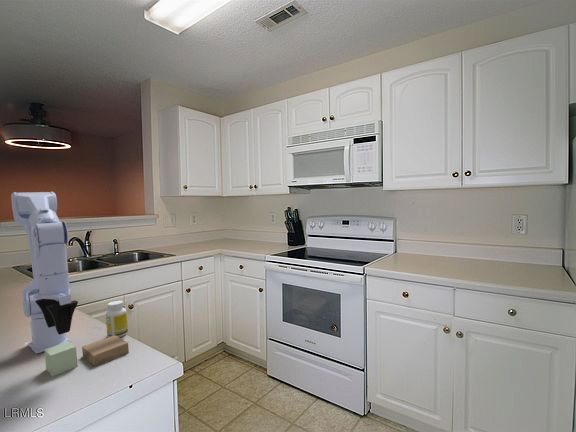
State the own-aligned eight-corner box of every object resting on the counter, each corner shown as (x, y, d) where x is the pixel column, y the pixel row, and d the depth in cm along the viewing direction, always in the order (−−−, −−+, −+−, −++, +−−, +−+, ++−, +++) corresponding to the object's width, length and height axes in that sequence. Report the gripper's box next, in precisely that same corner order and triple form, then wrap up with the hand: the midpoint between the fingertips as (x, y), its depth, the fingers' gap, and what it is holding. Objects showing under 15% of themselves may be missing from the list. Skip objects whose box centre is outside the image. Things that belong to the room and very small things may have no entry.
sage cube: (46, 369, 73) (44, 349, 73) (70, 360, 77) (69, 341, 77) (52, 376, 70) (50, 355, 70) (77, 366, 74) (76, 346, 74)
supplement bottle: (131, 330, 94) (129, 299, 93) (122, 338, 88) (120, 305, 88) (113, 331, 94) (111, 300, 93) (103, 339, 88) (100, 306, 88)
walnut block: (82, 357, 79) (82, 346, 79) (115, 345, 85) (115, 335, 85) (94, 367, 74) (93, 355, 74) (128, 353, 80) (128, 342, 80)
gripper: (23, 273, 74) (29, 328, 74) (41, 280, 65) (47, 343, 65) (59, 267, 79) (63, 319, 80) (79, 273, 70) (84, 331, 71)
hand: (58, 329), depth 73 cm, fingers open, 7 cm apart
